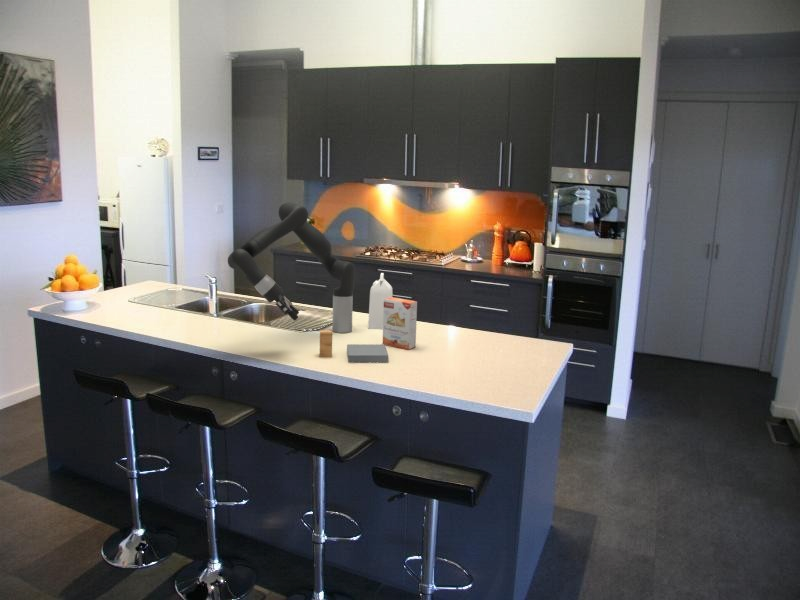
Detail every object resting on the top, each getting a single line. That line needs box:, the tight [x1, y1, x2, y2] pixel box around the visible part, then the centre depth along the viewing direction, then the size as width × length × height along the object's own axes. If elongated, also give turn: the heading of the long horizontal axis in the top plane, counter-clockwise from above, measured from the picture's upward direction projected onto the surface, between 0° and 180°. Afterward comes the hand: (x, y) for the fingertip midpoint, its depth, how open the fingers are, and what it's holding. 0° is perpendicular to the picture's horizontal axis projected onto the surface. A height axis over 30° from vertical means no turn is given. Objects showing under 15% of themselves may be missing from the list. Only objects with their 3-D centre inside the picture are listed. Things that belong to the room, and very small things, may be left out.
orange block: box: [319, 330, 333, 358], centre depth 277 cm, size 5×5×10 cm
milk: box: [367, 272, 393, 331], centre depth 326 cm, size 12×12×26 cm
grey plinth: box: [346, 343, 389, 364], centre depth 277 cm, size 16×16×3 cm
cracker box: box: [382, 297, 418, 351], centre depth 293 cm, size 14×6×21 cm, turn 57°
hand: (297, 316), depth 273 cm, fingers open, 8 cm apart
